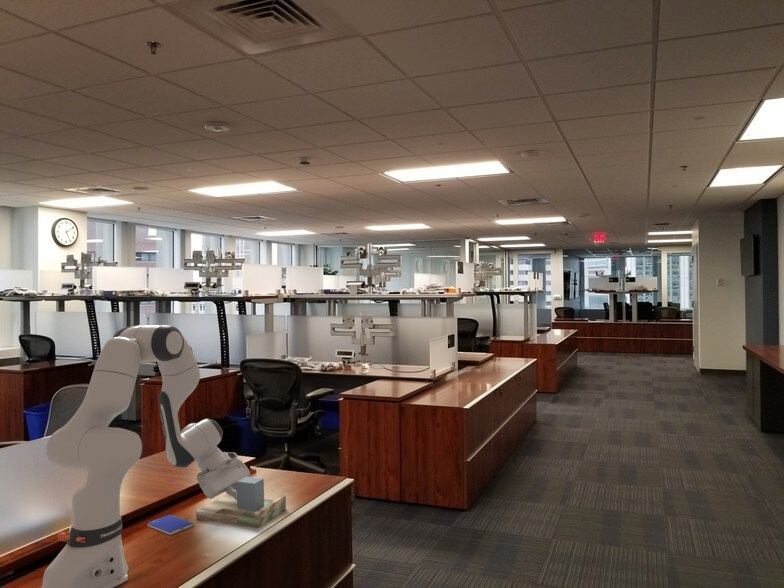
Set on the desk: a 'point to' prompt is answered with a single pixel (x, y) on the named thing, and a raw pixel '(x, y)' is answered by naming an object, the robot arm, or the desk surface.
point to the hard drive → (170, 524)
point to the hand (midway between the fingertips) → (240, 497)
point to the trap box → (241, 512)
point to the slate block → (250, 493)
